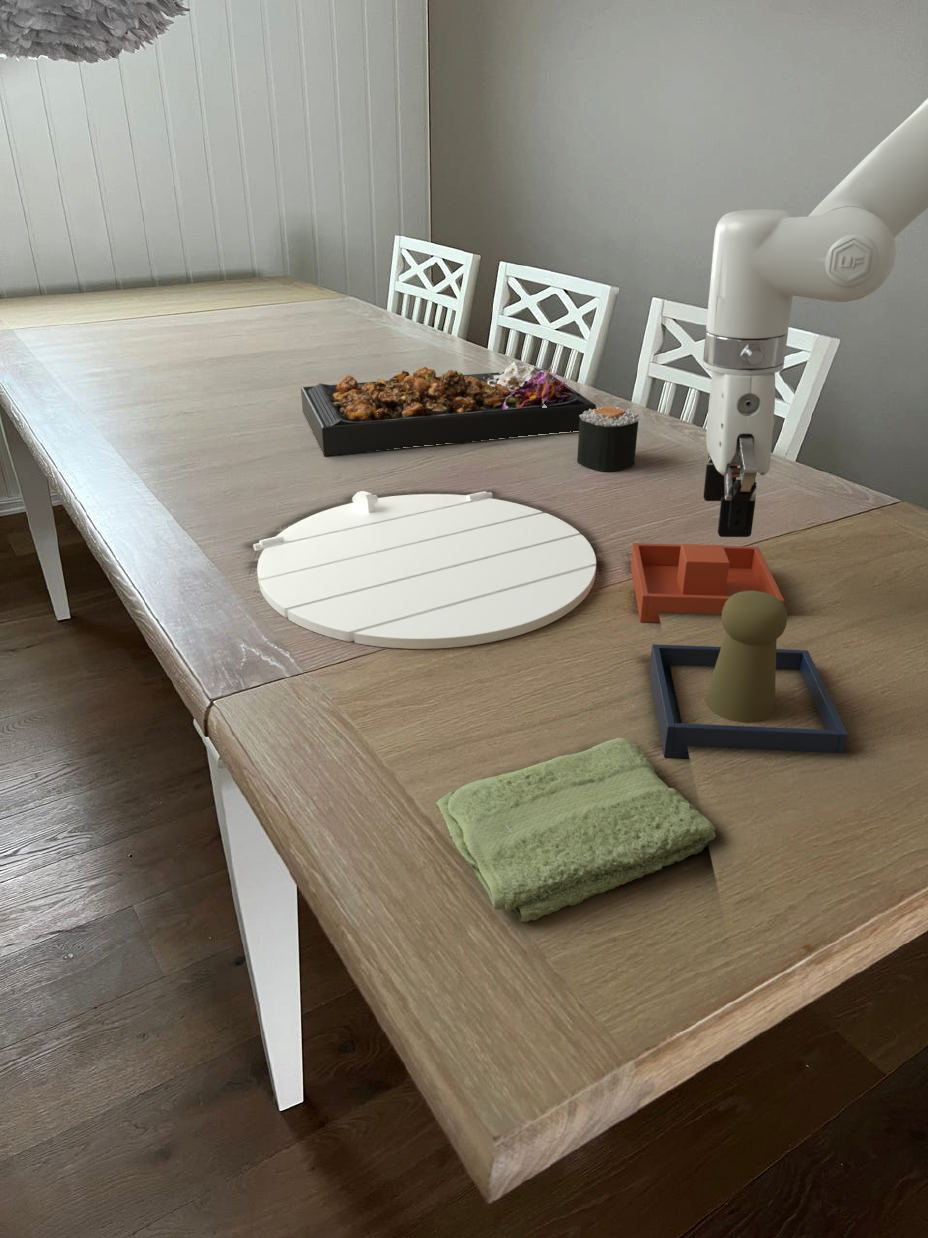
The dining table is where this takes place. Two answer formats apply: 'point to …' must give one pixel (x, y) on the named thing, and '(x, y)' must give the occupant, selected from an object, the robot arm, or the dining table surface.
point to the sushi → (607, 438)
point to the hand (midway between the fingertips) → (725, 517)
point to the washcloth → (571, 828)
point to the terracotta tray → (662, 594)
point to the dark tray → (742, 737)
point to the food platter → (440, 409)
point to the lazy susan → (426, 570)
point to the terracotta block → (702, 570)
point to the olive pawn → (747, 658)
